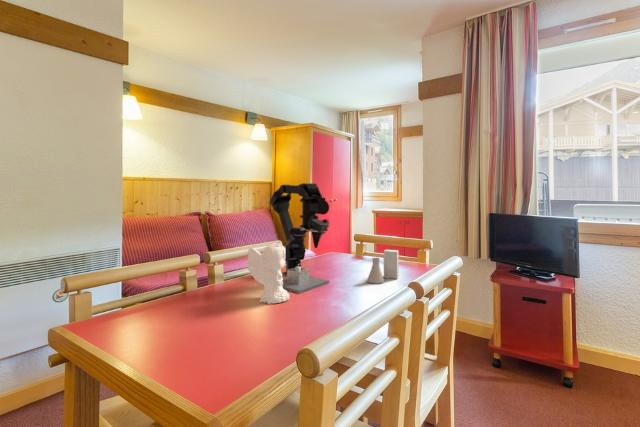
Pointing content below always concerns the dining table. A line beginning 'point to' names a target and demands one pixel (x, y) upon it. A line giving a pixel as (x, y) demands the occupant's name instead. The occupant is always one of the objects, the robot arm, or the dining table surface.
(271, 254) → the cherub figurine
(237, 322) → the dining table surface
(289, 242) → the robot arm
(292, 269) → the grey hollow square block
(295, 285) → the post plate
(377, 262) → the flask
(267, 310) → the dining table surface
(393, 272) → the skincare box
